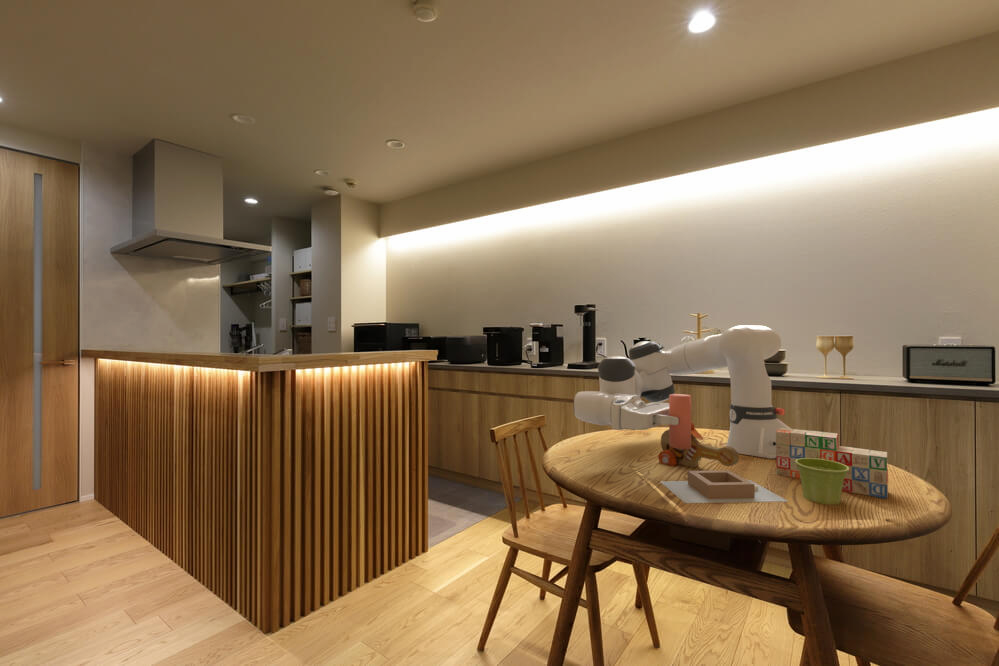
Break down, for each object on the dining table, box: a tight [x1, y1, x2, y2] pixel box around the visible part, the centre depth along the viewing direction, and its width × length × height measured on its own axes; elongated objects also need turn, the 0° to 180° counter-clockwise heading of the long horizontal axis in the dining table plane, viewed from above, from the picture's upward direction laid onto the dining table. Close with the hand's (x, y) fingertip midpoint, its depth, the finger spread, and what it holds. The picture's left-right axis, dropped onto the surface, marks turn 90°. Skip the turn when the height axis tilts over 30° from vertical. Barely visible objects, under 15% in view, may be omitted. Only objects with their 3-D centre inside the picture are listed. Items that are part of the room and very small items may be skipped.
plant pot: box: [795, 458, 849, 505], centre depth 97 cm, size 9×9×9 cm
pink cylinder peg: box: [668, 393, 692, 449], centre depth 107 cm, size 5×5×12 cm
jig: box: [659, 469, 788, 504], centre depth 102 cm, size 22×14×4 cm, turn 92°
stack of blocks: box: [775, 428, 889, 499], centre depth 109 cm, size 21×6×12 cm, turn 48°
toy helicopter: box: [657, 422, 740, 468], centre depth 120 cm, size 8×21×14 cm, turn 38°
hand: (684, 419), depth 106 cm, fingers closed on pink cylinder peg, 5 cm apart
